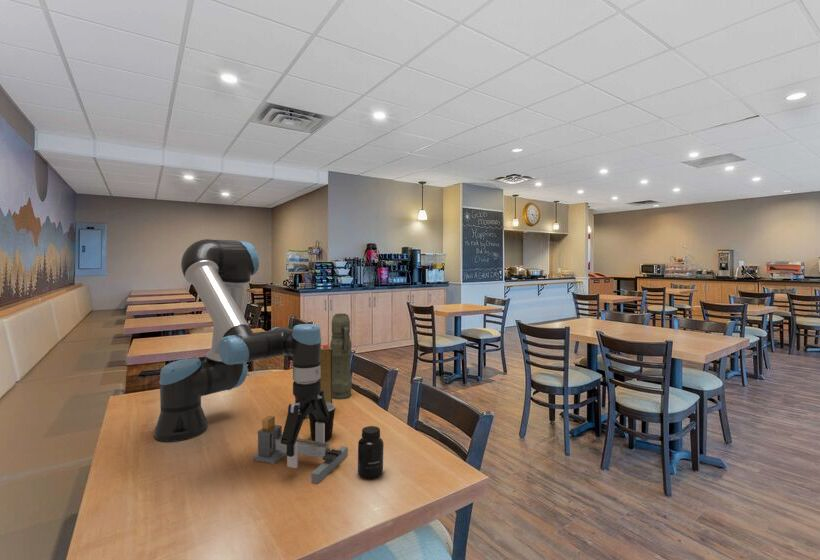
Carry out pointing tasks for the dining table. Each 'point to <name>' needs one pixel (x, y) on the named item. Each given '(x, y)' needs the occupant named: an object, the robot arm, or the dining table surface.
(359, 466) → the supplement bottle
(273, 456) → the stand
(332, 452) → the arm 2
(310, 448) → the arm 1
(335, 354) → the thermos
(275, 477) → the dining table surface
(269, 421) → the collar
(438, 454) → the dining table surface
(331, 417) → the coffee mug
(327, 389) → the food packaging
